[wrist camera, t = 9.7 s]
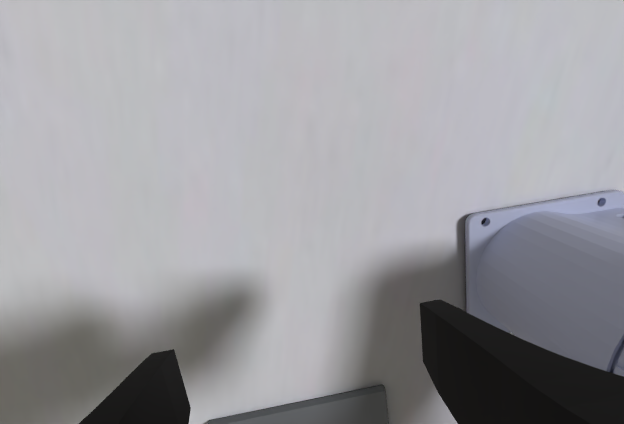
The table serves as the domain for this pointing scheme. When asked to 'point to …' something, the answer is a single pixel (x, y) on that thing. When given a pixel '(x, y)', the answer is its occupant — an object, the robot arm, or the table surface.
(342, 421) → the charcoal mat
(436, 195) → the table surface
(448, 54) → the table surface
